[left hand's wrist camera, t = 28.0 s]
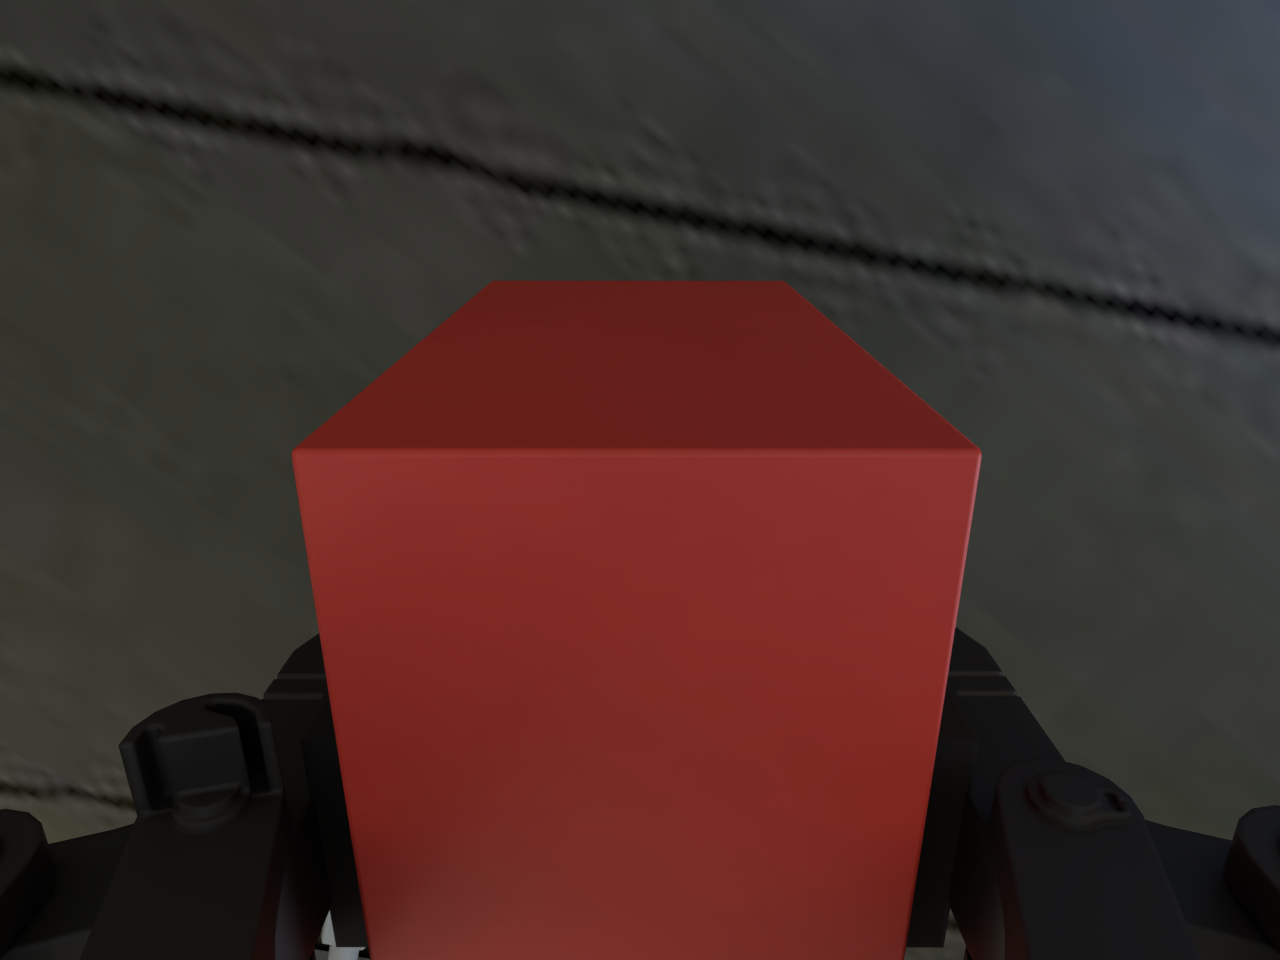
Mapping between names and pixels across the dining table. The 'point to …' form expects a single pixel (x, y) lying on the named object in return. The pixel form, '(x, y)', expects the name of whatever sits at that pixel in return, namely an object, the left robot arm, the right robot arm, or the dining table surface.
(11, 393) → the dining table surface
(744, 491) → the block
